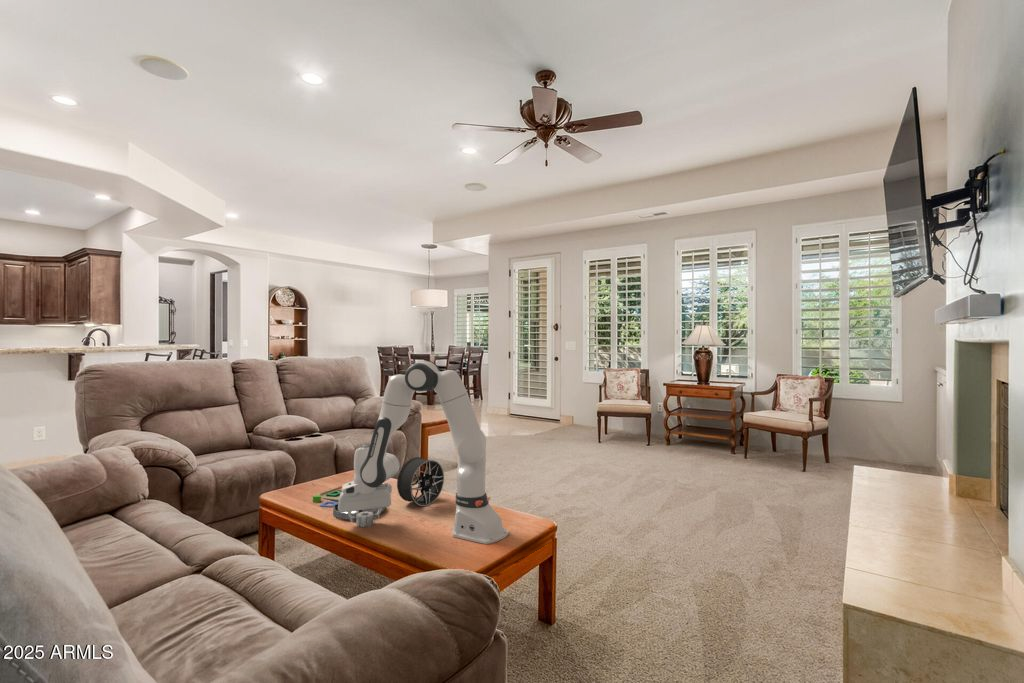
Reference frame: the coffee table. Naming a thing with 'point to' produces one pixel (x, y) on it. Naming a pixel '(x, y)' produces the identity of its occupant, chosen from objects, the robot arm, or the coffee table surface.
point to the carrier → (345, 514)
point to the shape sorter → (328, 496)
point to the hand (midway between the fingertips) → (364, 519)
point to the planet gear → (364, 519)
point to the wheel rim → (420, 481)
